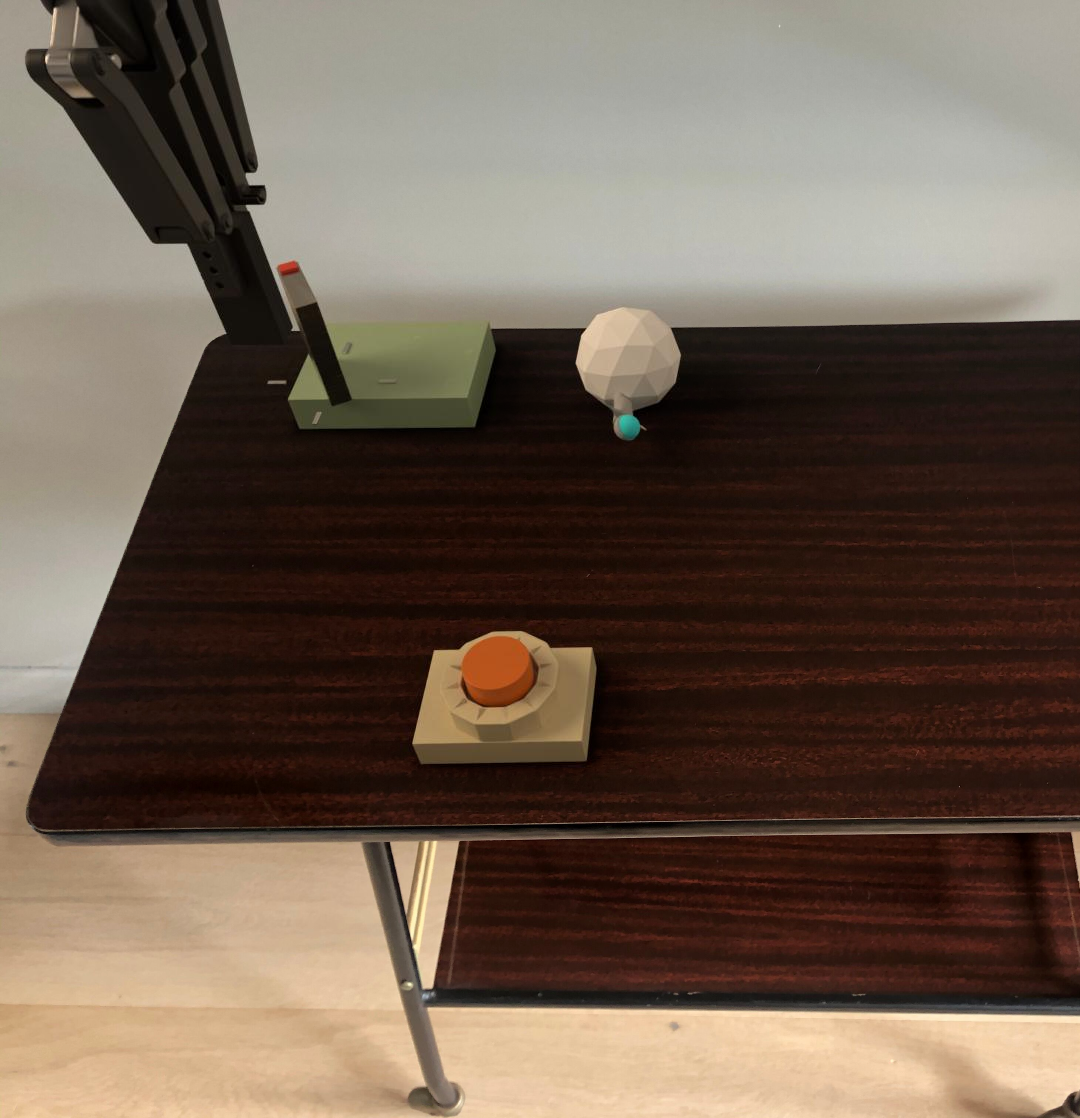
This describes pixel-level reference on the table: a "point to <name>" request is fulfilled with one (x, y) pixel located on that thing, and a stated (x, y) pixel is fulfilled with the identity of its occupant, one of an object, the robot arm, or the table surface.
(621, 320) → the perfume bottle
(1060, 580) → the table surface
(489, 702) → the button
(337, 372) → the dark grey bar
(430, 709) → the box
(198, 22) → the robot arm
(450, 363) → the clamp block
